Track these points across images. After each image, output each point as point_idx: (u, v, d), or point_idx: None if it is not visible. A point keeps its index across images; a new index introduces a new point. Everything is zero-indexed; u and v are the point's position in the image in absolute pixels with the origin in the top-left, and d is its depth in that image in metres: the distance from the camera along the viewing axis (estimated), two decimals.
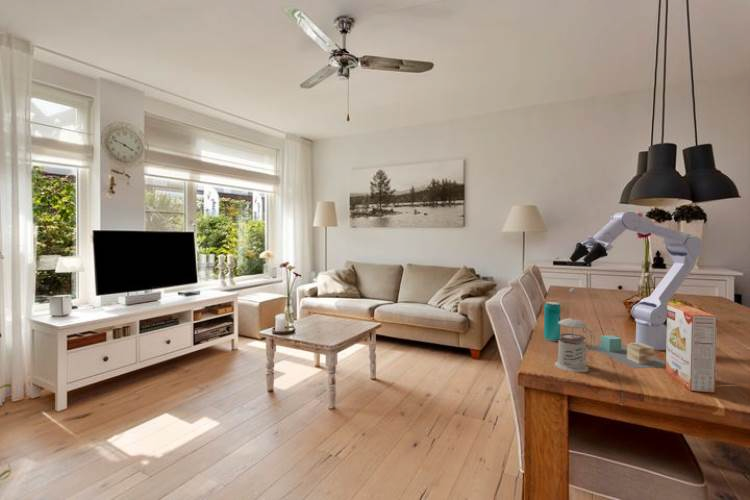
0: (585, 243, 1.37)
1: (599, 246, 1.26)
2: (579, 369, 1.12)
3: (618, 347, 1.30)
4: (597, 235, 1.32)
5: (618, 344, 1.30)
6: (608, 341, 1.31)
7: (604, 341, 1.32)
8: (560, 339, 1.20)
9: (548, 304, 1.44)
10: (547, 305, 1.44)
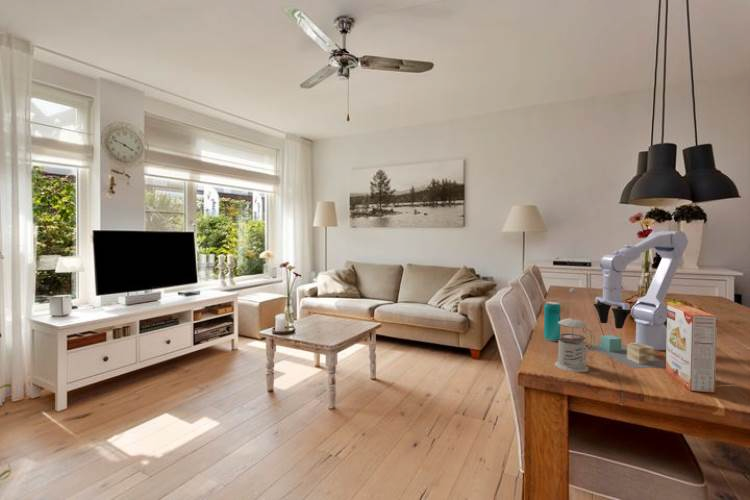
0: (600, 300, 1.36)
1: (619, 311, 1.26)
2: (579, 369, 1.12)
3: (618, 347, 1.30)
4: (606, 295, 1.31)
5: (618, 344, 1.30)
6: (608, 341, 1.31)
7: (604, 341, 1.32)
8: (560, 339, 1.20)
9: (548, 304, 1.44)
10: (547, 305, 1.44)
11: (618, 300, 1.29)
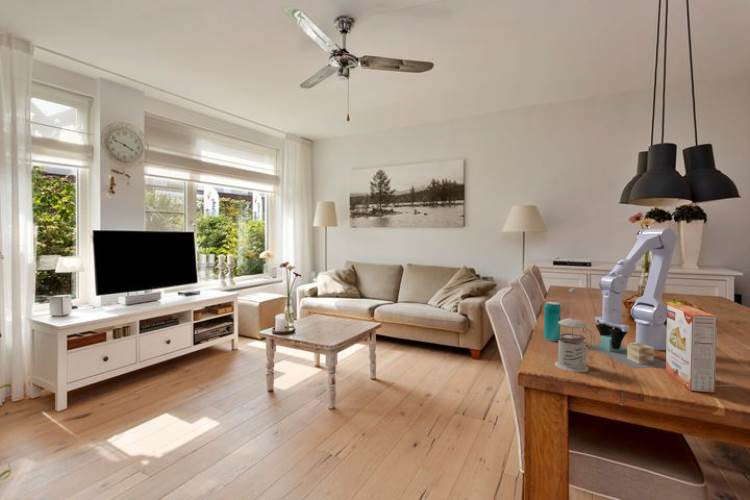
0: None
1: (616, 332, 1.27)
2: (579, 369, 1.12)
3: None
4: (605, 316, 1.31)
5: None
6: (608, 341, 1.31)
7: (604, 341, 1.32)
8: (560, 339, 1.20)
9: (548, 304, 1.44)
10: (547, 305, 1.44)
11: (617, 321, 1.29)
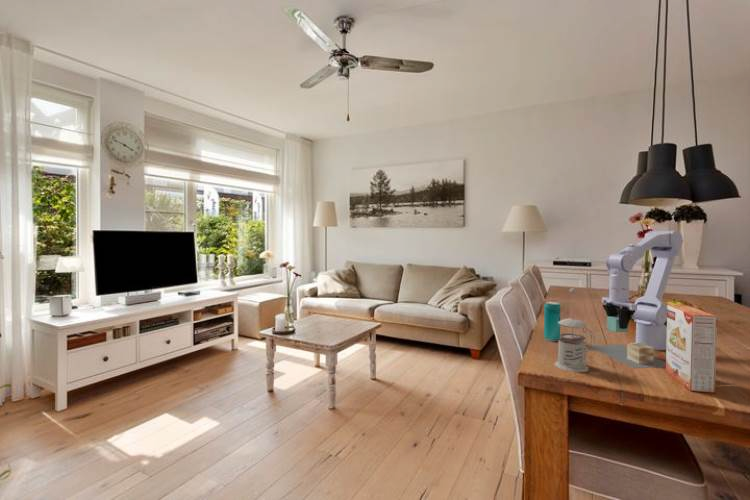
0: (607, 300, 1.33)
1: (623, 311, 1.24)
2: (579, 369, 1.12)
3: None
4: (613, 295, 1.28)
5: None
6: (615, 321, 1.27)
7: (611, 322, 1.29)
8: (560, 339, 1.20)
9: (548, 304, 1.44)
10: (547, 305, 1.44)
11: (625, 300, 1.26)
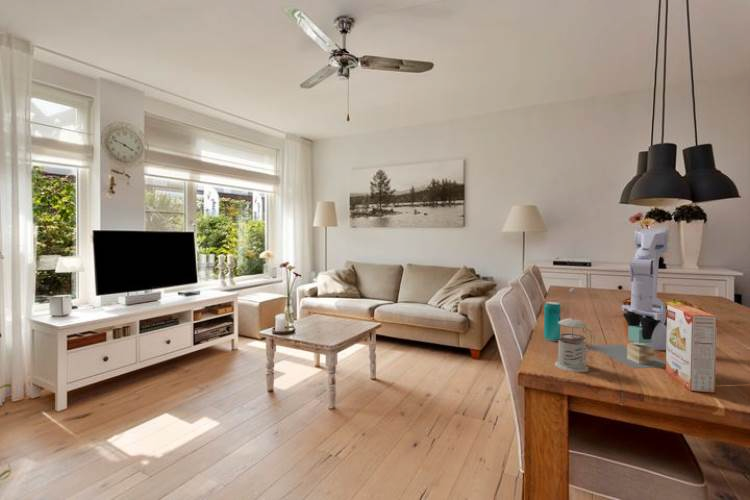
0: (627, 308, 1.24)
1: (647, 321, 1.15)
2: (579, 369, 1.12)
3: None
4: (635, 304, 1.19)
5: None
6: (637, 332, 1.18)
7: (633, 332, 1.20)
8: (560, 339, 1.20)
9: (548, 304, 1.44)
10: (547, 305, 1.44)
11: (649, 309, 1.17)
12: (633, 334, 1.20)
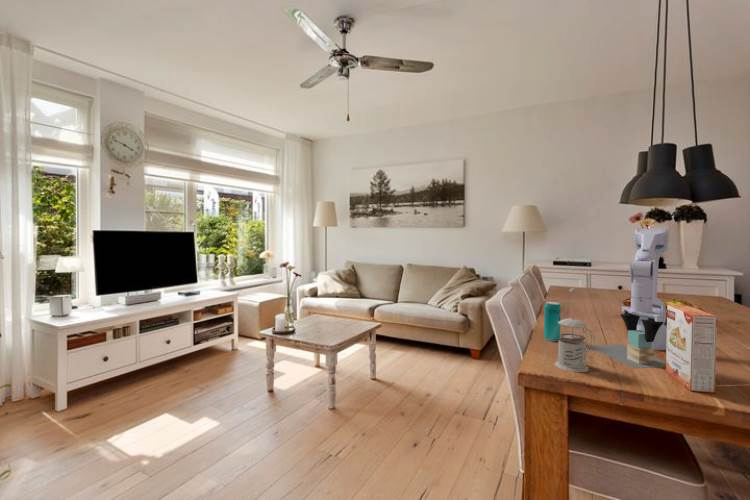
0: (627, 310, 1.24)
1: (650, 323, 1.14)
2: (579, 369, 1.12)
3: (648, 343, 1.18)
4: (635, 305, 1.19)
5: None
6: (637, 336, 1.19)
7: (632, 336, 1.21)
8: (560, 339, 1.20)
9: (548, 304, 1.44)
10: (547, 305, 1.44)
11: (649, 311, 1.17)
12: (632, 339, 1.20)
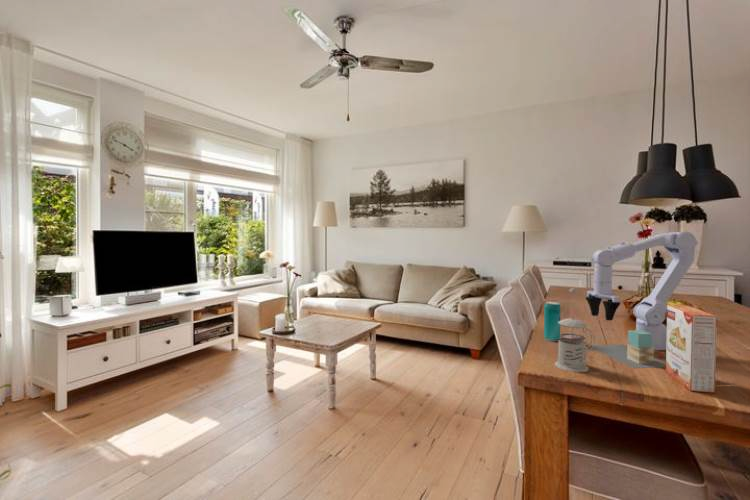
0: None
1: (609, 304, 1.32)
2: (579, 369, 1.12)
3: (648, 343, 1.18)
4: (597, 289, 1.37)
5: (648, 340, 1.18)
6: (637, 336, 1.19)
7: (632, 336, 1.21)
8: (560, 339, 1.20)
9: (548, 304, 1.44)
10: (547, 305, 1.44)
11: (608, 293, 1.35)
12: (632, 339, 1.20)
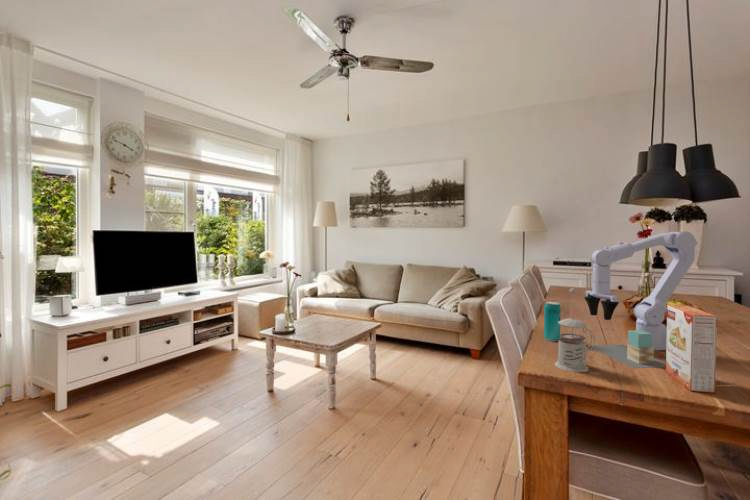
0: None
1: (607, 303, 1.33)
2: (579, 369, 1.12)
3: (648, 343, 1.18)
4: (595, 288, 1.38)
5: (648, 340, 1.18)
6: (637, 336, 1.19)
7: (632, 336, 1.21)
8: (560, 339, 1.20)
9: (548, 304, 1.44)
10: (547, 305, 1.44)
11: (607, 293, 1.36)
12: (632, 339, 1.20)
